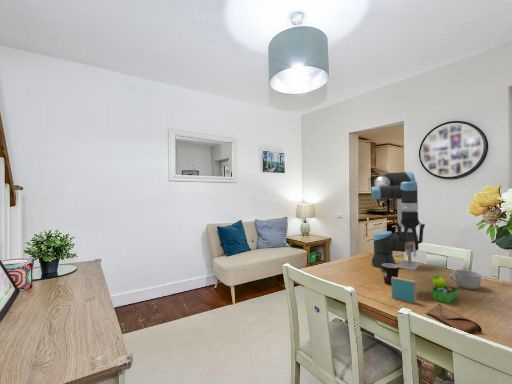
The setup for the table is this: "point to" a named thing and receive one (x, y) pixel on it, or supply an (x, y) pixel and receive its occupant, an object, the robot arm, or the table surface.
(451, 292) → the fruit basket
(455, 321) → the sunglasses case
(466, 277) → the teacup
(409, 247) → the grey post stand
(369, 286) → the table surface
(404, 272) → the table surface
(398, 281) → the tile
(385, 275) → the coffee mug
